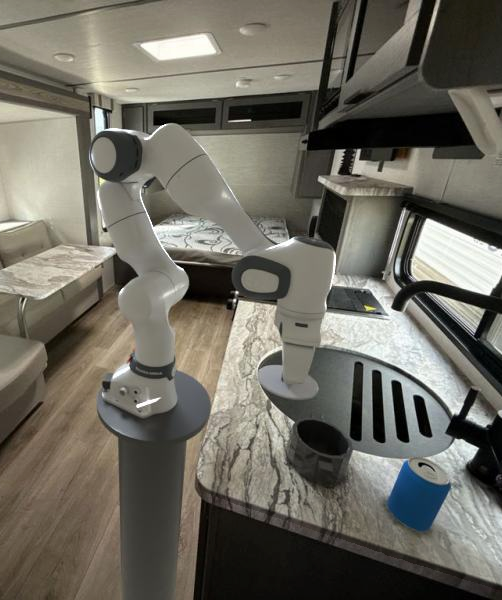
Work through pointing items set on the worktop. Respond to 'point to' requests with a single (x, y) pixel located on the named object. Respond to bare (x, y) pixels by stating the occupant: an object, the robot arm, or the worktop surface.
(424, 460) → the beverage can
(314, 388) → the pot lid
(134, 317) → the robot arm
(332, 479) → the pot
